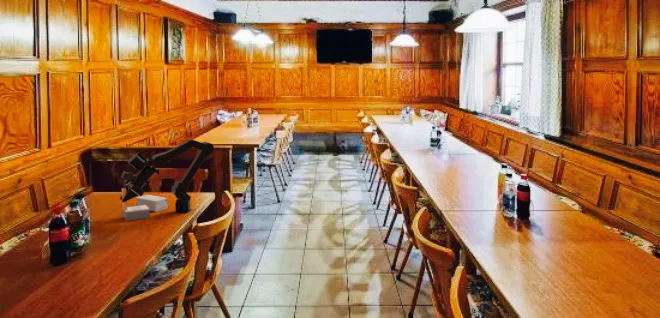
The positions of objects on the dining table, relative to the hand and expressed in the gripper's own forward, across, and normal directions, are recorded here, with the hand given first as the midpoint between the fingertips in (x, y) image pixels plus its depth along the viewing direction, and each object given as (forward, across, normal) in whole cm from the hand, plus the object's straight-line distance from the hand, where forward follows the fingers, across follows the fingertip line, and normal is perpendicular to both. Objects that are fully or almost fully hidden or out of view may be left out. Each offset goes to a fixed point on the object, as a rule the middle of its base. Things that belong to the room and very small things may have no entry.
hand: (121, 200), depth 239 cm
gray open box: (+2, 0, +11) cm, 11 cm away
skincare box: (-5, -20, +14) cm, 25 cm away
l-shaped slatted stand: (-1, 0, +8) cm, 8 cm away
